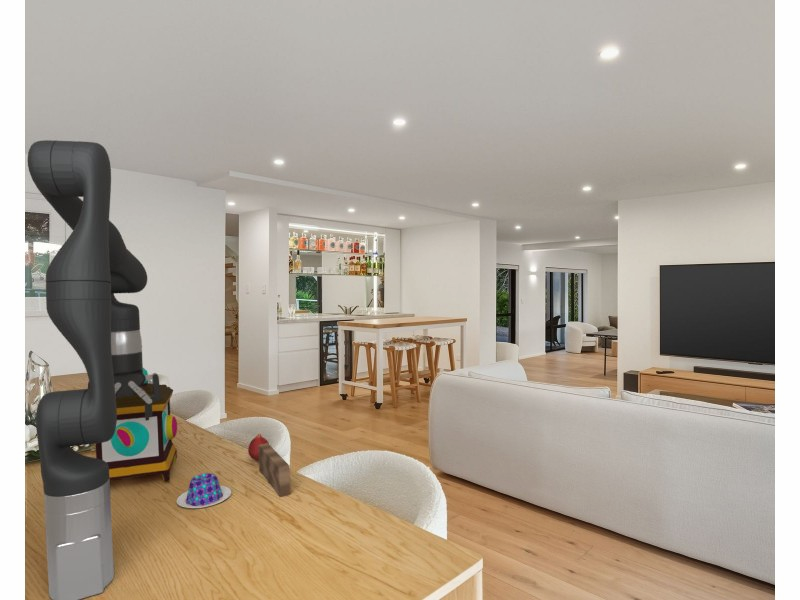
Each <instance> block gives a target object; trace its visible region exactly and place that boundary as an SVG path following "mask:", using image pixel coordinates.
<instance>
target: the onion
mask: <svg viewBox="0 0 800 600" xmlns="http://www.w3.org/2000/svg"><path fill="white" fill-rule="evenodd" d="M266 443H268V444H269V445H270V443H269V441H268V440H267V439H266V438H265V437H263V436H262V433H258V434H257V435H256V436H255V437H254V438H253V439H252V440H250V443H249V445H248V448H247V449H248V450H247V451H248V455H249V456H250V458H251V459H253V460H255V461H256V462H258V461H259V449H258V445H260V444H266Z"/></svg>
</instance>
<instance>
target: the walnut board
mask: <svg viewBox="0 0 800 600" xmlns="http://www.w3.org/2000/svg"><path fill="white" fill-rule="evenodd" d="M268 443H269V442H268ZM268 443H266V444H260V445H258V449H259V462H258V470H259V472H260V473H261V475H262V476H263V477H264V479H265V480H266V481H267V482H268V485H269V486H271V488H272V489H273V490H274V491H275V493H276V494H277V495H278V497H280V498H282V497H287V496H290V495H291V474H290V473H291V472H290V471H291V470H290V465H289V464H288V463H287V461H286V460H285V459H284V458H283V457H282V456H281V455H280V454H279V453H278V452H277V451H276V450H275V449H274V448H273V447H272V445H270V443H269V444H268Z"/></svg>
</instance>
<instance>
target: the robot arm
mask: <svg viewBox="0 0 800 600" xmlns="http://www.w3.org/2000/svg"><path fill="white" fill-rule="evenodd" d="M27 167H28V172H29V175H30V177H31V179H32V182H33V183H34V185H35V187H36V189H37V190H38V192H40V195H42V196H43V197H44V199H45V200H46V201H47V202H48V203H49V205H50V206H51V207H52V208H53V209H54V211H55V212H56V213H57V214H58V215H59V216H60V218H61V219H62V220H63V222H65V223H66V224H67V225H68V226H69V228H70V230H72V232H71V233H70V235H69V236H68V238H67V239H66V240H65V241H64V243H63V244H62V245H61V247H60V248H59V250H58V251H57V253H56V254H55V255H54V257H53V258H52V260H51V261H50V263H49V265H48V267H47V269H46V273H45V304H46V307H45V308H46V312H47V315H48V317H49V319H50V320H51V323H52V324H53V325H54V326H55V327H56V329H57V331H58V332H60V334H61V335H62V336H63V338H65V340H66V341H67V342H68V343H69V345H71V347H72V348H73V350H74V351H75V353H76V354H77V355H78V357H79V359H80V360H81V362H82V364H83V366H84V368H85V371H86V373H87V377H88V382H87V388H82V389H81V388H80V389H67V390H57V391H51V392H47V393H45V394H44V395H43V396H42V397H41V398H40V399H39V402H38V404H37V407H36V412H35V426H36V427H35V428H36V429H35V430H36V439H37V445H38V454H39V461H40V463H39V464H40V474H41V481H42V485H43V498H44V499H43V500H44V501H43V502H44V520H45V521H44V526H45V541H46V542H45V544H46V563H47V579H48V582H47V583H48V596H49V598H50V599H51V600H81V599H85V598H89V597H91V596H96V595H99V594H102V593H103V592H104V591H105V590H104V589H105V588H106V587H107V586H108V585H109V584H110V583H112V581H113V580H114V577H115V572H114V571H115V569H114V566H115V565H114V551H113V549H114V548H113V547H114V546H113V531H112V530H113V529H112V528H113V526H112V508H111V506H112V505H111V504H112V503H111V485H110V484H111V480H110V479H109V466H108V464H107V463H106V462H105V461H103V460H101V459H97V458H96V457H92V456H87V455H85V454H81V453H80V452H77V451H76V450H74V449H72V448H71V447H77V446H87V445H93V444H96V443H103V442H107V441H109V440H110V439H111V438H112V437H113V435H114V433H115V429H116V422H117V408H116V397H117V398H118V397H123V396H133V395H134V394H136V393H137V394H138V395H139V396H140V397H141V398H142V399H143V400H144V401H145V402H146V403H145V420H146V421H147V420H149V418H150V417H152V403H153V402H154V401H156V400H160V398H161V394H160V385H161V384H160V377H159V374H158V373H156V372H153V373H152V374H148V375H144V374H143V368H144V367H143V364H144V363H143V343H142V342H143V341H142V336H141V325H140V324H141V323H140V321H141V320H140V310H139V307H138V306H137V305H136V304H131V303H127V302H126V303H124V302H121V301H119V300H118V299H117V298H116V296H115V294H135V293H140V292H142V291H143V290H144V289H145V288H146V286H147V284H148V274H147V271H146V269H145V267H144V265H143V263H142V262H141V261H140V260H139V259H138V258H137V257H136V256H135V255H134V254H133V253H132V252H131V251H130V250H129V249H128V248H127V246H126V244H125V241H124V238H123V236H122V235H121V232H120V231H119V229H118V227H116V226H115V224H114V223H113V222H112V221H111V220H110V211H111V210H110V209H111V195H112V194H111V193H112V192H111V191H112V167H111V161H110V157H109V154H108V152H107V150H106V148H105V147H104V146H103V145H102V144H100V143H98V142H94V141H80V140H79V141H74V140H50V139H49V140H47V139H46V140H38V141H34V142H33V143H32V144H31V145H30V147H29V149H28V152H27ZM81 198H83V199H81ZM145 380H148V381H149V383H150V384H153V391H154V395H152V396H149V395H148V394H147V393H146V392H145V391H144V390H143V389H142V388H141V386H142V385H143V383H144V382H145Z"/></svg>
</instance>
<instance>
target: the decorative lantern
mask: <svg viewBox="0 0 800 600" xmlns="http://www.w3.org/2000/svg"><path fill="white" fill-rule="evenodd" d="M143 374H144V375H149V372H148V370H147V369H146V368H145V367H143ZM159 385H160V394H161V398H160V400H156V401H154V402H153V403H152V417H150V418H149V420H147V421H146V420H145V403H146V402H145V401H144V400H143V399H142V398H141V397H140V396H139V395H138V394H137V393H136V394H134V395H133V396H123V397H118V398H117V397H116V408H117V422H116V429H115V433H114V435H113V437H112V438H111V439H110V440H109V441H107V442H103V443H96V444H92V445H93V446H94V447H95V458H97V459H101V460H103V461H105V462H106V463H107V464H108V466H109V479H110V481H115V480H121V479H122V480H123V479H130V478H137V477H145V476H153V475H161V476H162V480H163V483H165V484H168V483H169V482H170V477H171V476H170V475H171V467H172V465H173V463H174V462H176V461H177V459H178V453H177V452H178V450H177V448H176V446H175V444H174V443H173V439H175V437H176V436H177V433H178V422H177V419H176V416H175V415H172V414H171V398H172V395H173V393H174V389H172V388H171V387H170V386H167V384H159ZM141 388H142V389H143V390H144V391H145V392H146V393H147V394H148V395H149V396H152V395H154V391H153V384H150V383H149V381H148V380H145V382H144V383H143V385H142V386H141Z"/></svg>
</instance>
